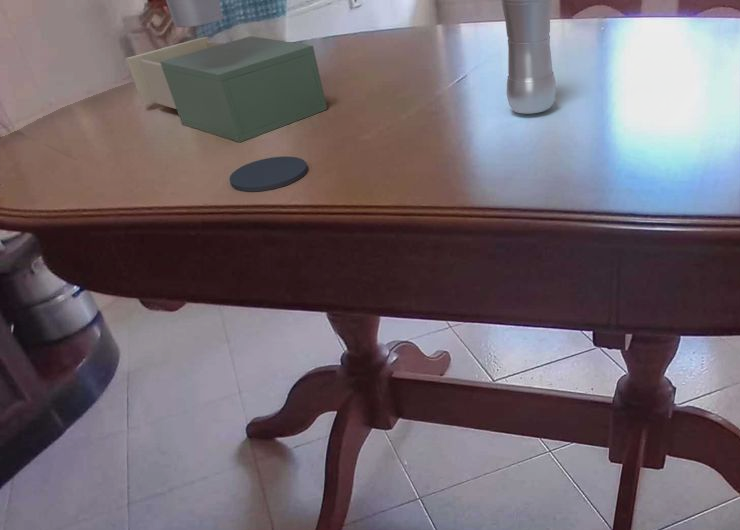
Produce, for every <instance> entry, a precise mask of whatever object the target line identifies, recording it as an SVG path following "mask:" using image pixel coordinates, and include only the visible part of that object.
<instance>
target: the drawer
mask: <svg viewBox="0 0 740 530" xmlns="http://www.w3.org/2000/svg"><path fill="white" fill-rule="evenodd" d="M221 44H225V43H223V42H217V41H211V40H210V37H209V36H202V37H199V38H194V39H190V40H187V41H184V42H180V43H176V44H173V45H168V46H166V47H162V48H159V49H155V50H151V51H150V50H149V51H147V52H143V53H139V54H136V55H131V56H129V57H125V58H124V59H125V62H126V64H127V67H128V70H129V72H130V75H131V78H132V80H133V83H134V86H135V88H136V91H137V93H138V97H139V99H140V101H141V104H142V105H144V106H149V105H151V104H158V105H160V106H161V105H162V106H165V107H167V108H172V109H175V110H177V108H176V106H175V103H174V100H173V97H172V94H171V92H170V89H169V86H168V83H167V80H166V78H165V75H164V72H163V68H162V66H161V64H160V62H161V61H164V60H168V59H171V58H175V57H179V56H182V55H186V54H189V53H193V52H196V51H200V50H203V49H207V48H210V47H214V46H218V45H221Z"/></svg>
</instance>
